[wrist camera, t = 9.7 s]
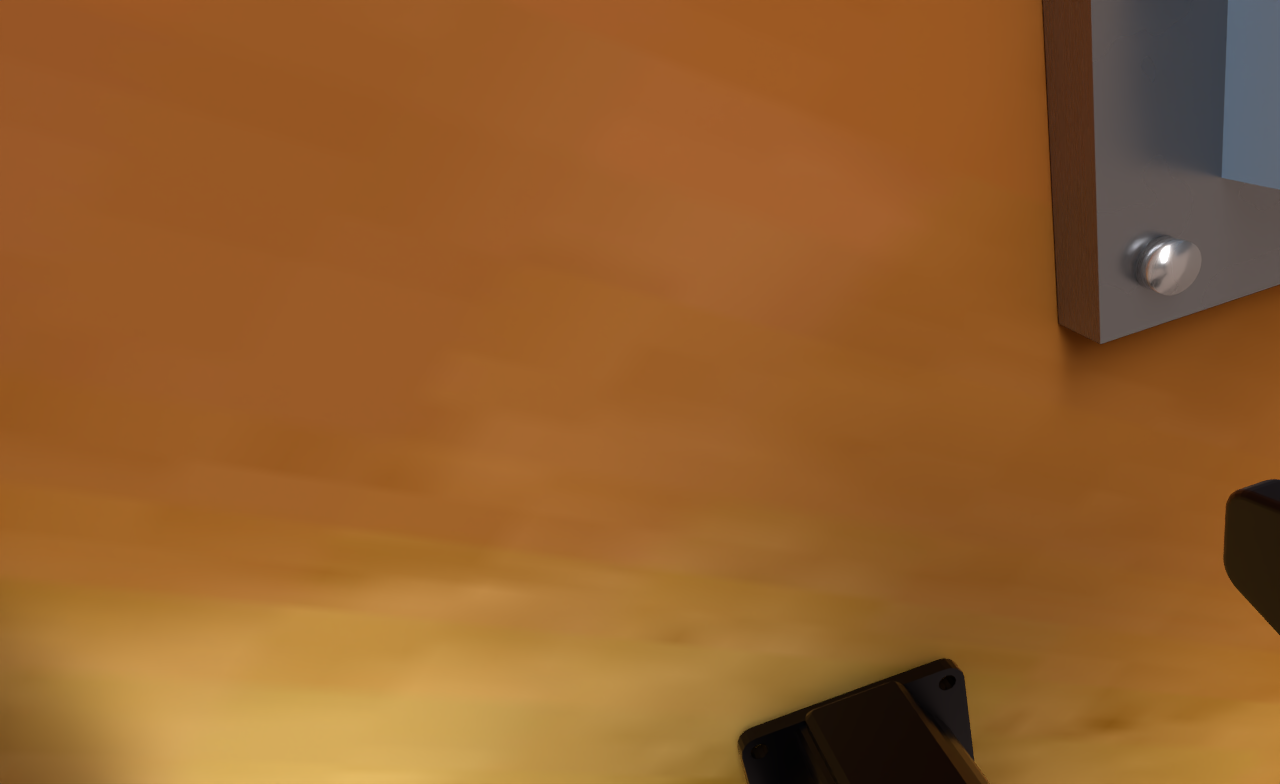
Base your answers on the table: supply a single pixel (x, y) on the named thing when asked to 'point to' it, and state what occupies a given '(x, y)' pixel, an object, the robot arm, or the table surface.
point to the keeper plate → (1147, 167)
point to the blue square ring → (1252, 93)
